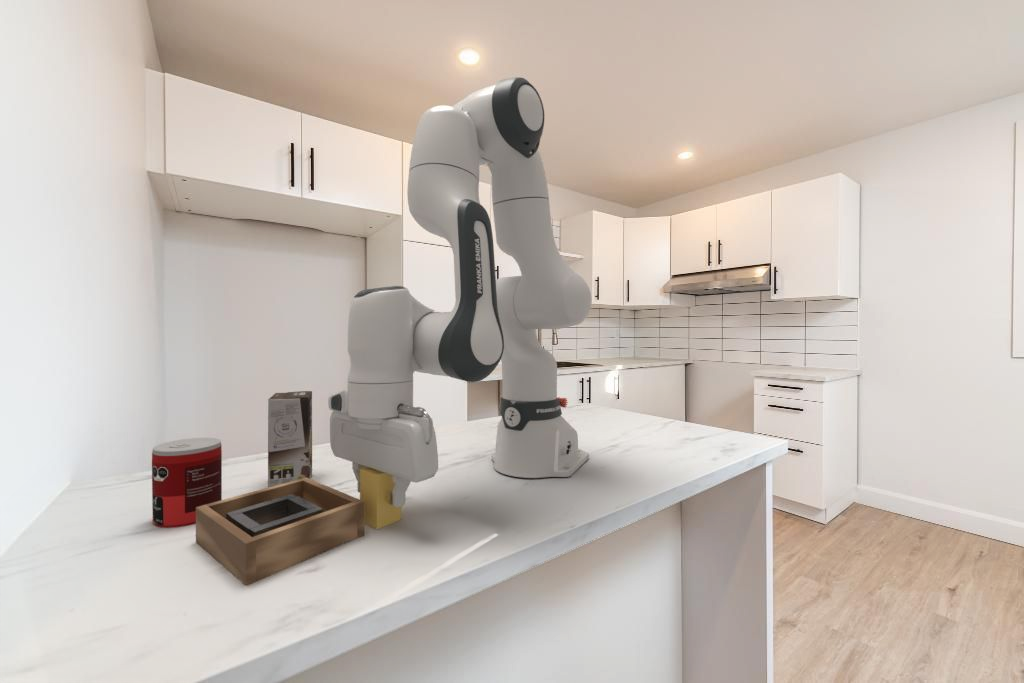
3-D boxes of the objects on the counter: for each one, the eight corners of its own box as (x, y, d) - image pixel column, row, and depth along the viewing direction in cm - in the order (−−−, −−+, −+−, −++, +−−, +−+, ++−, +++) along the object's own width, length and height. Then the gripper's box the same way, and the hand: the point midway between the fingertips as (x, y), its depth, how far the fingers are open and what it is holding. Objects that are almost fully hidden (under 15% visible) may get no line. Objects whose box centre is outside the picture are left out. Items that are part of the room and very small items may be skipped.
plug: (384, 515, 62) (384, 462, 62) (401, 523, 60) (401, 467, 60) (359, 525, 59) (360, 469, 59) (377, 534, 57) (377, 475, 56)
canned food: (165, 513, 63) (165, 439, 62) (228, 505, 65) (228, 435, 65) (141, 536, 55) (140, 453, 55) (213, 527, 58) (212, 448, 58)
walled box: (306, 510, 64) (306, 477, 64) (364, 539, 55) (364, 501, 55) (195, 546, 53) (195, 507, 53) (245, 591, 44) (245, 543, 44)
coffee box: (309, 490, 72) (309, 396, 72) (266, 495, 70) (266, 398, 69) (313, 474, 80) (313, 390, 80) (275, 478, 78) (275, 391, 78)
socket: (292, 522, 59) (292, 493, 58) (323, 539, 54) (323, 508, 54) (225, 545, 52) (225, 513, 52) (254, 567, 47) (253, 532, 47)
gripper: (449, 406, 55) (449, 510, 56) (359, 392, 68) (359, 477, 68) (411, 412, 50) (411, 527, 51) (321, 396, 63) (321, 488, 63)
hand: (380, 498), depth 59 cm, fingers open, 6 cm apart
